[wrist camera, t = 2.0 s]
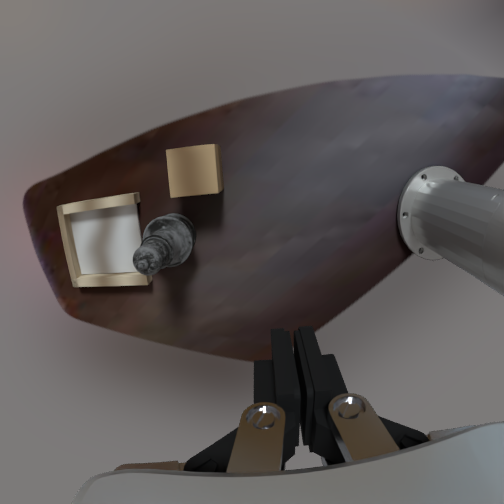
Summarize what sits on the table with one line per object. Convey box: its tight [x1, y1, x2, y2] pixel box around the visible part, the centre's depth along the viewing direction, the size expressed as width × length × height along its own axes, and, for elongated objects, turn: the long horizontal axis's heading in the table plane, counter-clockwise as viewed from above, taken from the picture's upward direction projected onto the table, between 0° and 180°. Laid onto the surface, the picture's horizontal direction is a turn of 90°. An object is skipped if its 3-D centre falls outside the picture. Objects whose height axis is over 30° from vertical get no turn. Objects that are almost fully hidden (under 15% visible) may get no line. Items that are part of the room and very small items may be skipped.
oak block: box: [166, 144, 224, 198], centre depth 32 cm, size 5×5×5 cm
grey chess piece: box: [133, 213, 196, 276], centre depth 31 cm, size 6×6×12 cm
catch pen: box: [57, 192, 152, 287], centre depth 36 cm, size 12×11×2 cm
